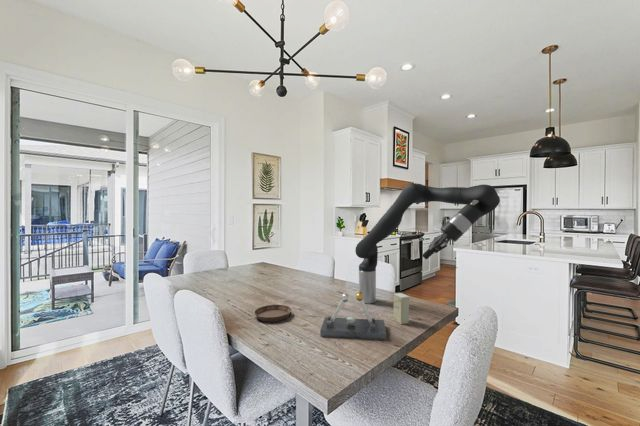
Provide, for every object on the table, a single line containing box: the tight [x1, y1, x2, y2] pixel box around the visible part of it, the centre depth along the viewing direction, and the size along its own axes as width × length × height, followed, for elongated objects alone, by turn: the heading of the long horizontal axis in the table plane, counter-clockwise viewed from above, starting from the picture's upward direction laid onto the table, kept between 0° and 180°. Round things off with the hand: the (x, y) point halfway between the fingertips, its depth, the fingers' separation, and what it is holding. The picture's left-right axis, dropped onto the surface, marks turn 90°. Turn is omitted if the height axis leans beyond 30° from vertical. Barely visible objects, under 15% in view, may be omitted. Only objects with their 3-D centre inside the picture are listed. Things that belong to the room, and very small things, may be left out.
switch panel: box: [319, 315, 387, 341], centre depth 124 cm, size 14×26×4 cm, turn 81°
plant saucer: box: [253, 304, 292, 323], centre depth 142 cm, size 18×18×3 cm
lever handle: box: [355, 291, 373, 323], centre depth 123 cm, size 4×3×14 cm
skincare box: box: [392, 292, 410, 325], centre depth 134 cm, size 6×4×12 cm
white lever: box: [330, 292, 350, 323], centre depth 125 cm, size 4×3×14 cm
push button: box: [346, 316, 356, 325], centre depth 124 cm, size 4×4×2 cm
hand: (424, 257), depth 119 cm, fingers closed
